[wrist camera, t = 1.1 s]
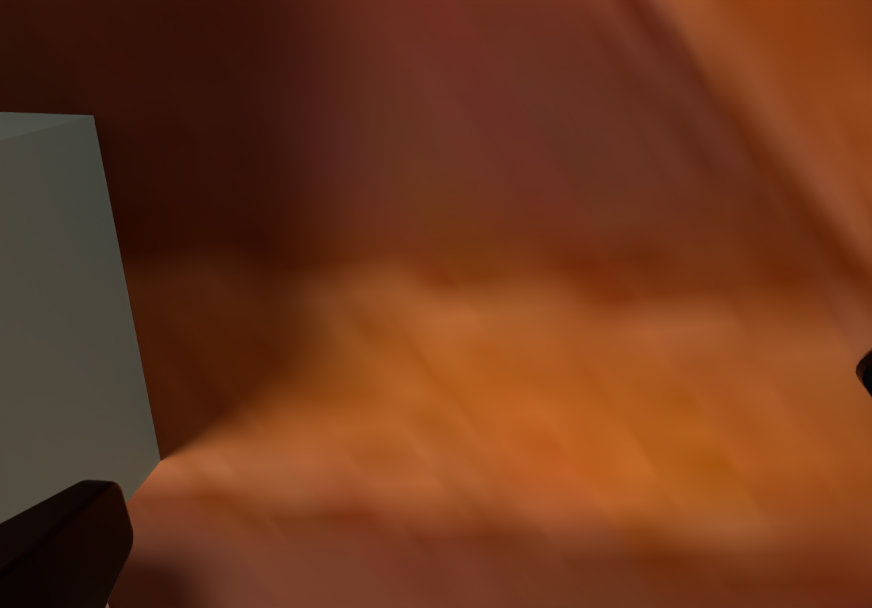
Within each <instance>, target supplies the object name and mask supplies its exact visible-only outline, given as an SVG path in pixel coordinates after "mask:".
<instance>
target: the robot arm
mask: <svg viewBox="0 0 872 608" xmlns="http://www.w3.org/2000/svg"><path fill="white" fill-rule="evenodd" d="M856 374H857V377H858V379H859V380H860V382H861V383H862V385H863V386H864V387H865V389H866V390H867V392H868V393H869V394H870V396H871V397H872V353H871V354H869V355H868V356H866V357H865V358H863V359H862V360H861V361H860V362H859V364H858V365H857V367H856ZM132 544H133V528H132V525H131V521H130V517H129V514H128V510H127V506H126V502H125V499H124V495H123V491H122V489H121V487H120V486H119V485H118V484H117V483H116V482H113V481H105V480H91V479H89V480H83V481H80V482H78V483H76V484H74V485H72V486H70V487H68V488H66V489H65V490H63V491H61V492H59V493H57V494H55V495H53V496H51V497H49V498H48V499H46V500H44V501H42V502H40V503H38V504H36V505H34V506H32V507H31V508H29V509H27V510H25V511H23V512H21V513H19V514H17V515H15V516H14V517H12V518H10V519H8V520H6V521H4V522H2V523H0V608H106V606H107V603H108V601H109V599H110V597H111V594H112V592H113V590H114V588H115V585H116V583H117V581H118V579H119V576H120V574H121V572H122V570H123V567H124V565H125V563H126V561H127V559H128V556H129V554H130V551H131V548H132Z"/></svg>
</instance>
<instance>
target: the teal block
mask: <svg viewBox="0 0 872 608" xmlns="http://www.w3.org/2000/svg"><path fill="white" fill-rule="evenodd" d="M160 461H161V460H160V455H159V450H158V444H157V439H156V434H155V429H154V424H153V419H152V414H151V408H150V403H149V398H148V393H147V388H146V383H145V378H144V373H143V367H142V362H141V357H140V352H139V347H138V342H137V337H136V332H135V326H134V321H133V316H132V311H131V306H130V301H129V296H128V291H127V285H126V280H125V275H124V270H123V265H122V260H121V255H120V249H119V244H118V239H117V234H116V229H115V224H114V219H113V214H112V208H111V203H110V198H109V193H108V188H107V183H106V178H105V173H104V167H103V162H102V157H101V152H100V147H99V142H98V137H97V132H96V126H95V121H94V116H93V115H69V114H43V113H17V112H0V523H2V522H4V521H6V520H8V519H10V518H12V517H14V516H15V515H17V514H19V513H21V512H23V511H25V510H27V509H29V508H31V507H32V506H34V505H36V504H38V503H40V502H42V501H44V500H46V499H48V498H49V497H51V496H53V495H55V494H57V493H59V492H61V491H63V490H65V489H66V488H68V487H70V486H72V485H74V484H76V483H78V482H80V481H83V480H89V479H91V480H105V481H113V482H116V483H117V484H118V485H119V486H120V487H121V489H122V491H123V495H124V499H125V502H126V503H127V502H128V500H129V499H130V498H131V497H132V495H133V494H134V493H135V492H136V491H137V489H138V488H139V487H140V486H141V484H142V483H143V482H144V481H145V480H146V478H147V477H148V476H149V475H150V473H151V472H152V471H153V470H154V468H155V467H156V466H157V465H158V464H159V462H160Z"/></svg>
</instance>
